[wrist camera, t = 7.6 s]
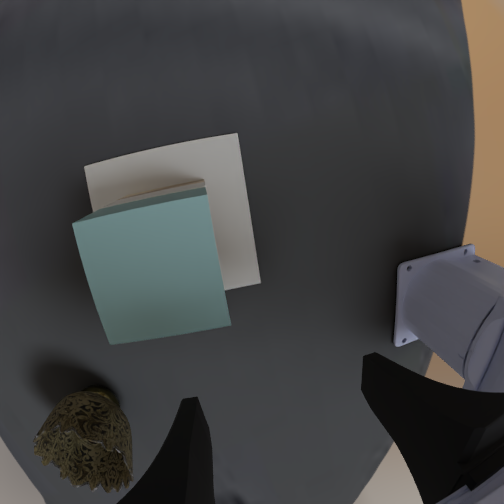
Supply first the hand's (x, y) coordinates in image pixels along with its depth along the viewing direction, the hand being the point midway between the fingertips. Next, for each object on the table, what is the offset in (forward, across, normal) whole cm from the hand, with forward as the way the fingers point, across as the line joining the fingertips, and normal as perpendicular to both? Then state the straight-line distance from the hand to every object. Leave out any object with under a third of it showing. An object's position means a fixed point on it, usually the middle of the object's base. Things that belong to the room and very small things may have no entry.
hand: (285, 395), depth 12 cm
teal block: (+4, +4, -6) cm, 8 cm away
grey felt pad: (+10, +4, -6) cm, 13 cm away
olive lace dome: (+11, +14, +7) cm, 19 cm away
